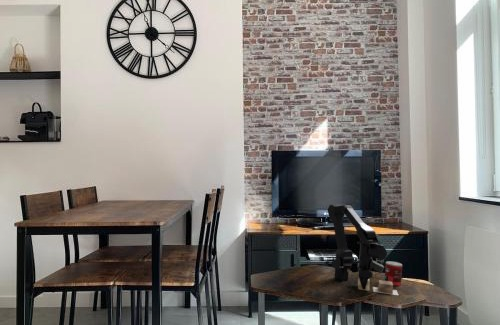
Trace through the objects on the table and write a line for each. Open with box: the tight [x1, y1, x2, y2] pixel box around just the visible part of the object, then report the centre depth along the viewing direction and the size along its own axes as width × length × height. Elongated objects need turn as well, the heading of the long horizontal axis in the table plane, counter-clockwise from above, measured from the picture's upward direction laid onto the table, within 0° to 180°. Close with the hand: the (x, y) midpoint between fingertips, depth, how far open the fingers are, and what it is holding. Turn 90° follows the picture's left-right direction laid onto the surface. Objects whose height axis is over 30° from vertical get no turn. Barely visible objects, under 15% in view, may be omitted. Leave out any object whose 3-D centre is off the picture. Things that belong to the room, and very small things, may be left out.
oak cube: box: [357, 278, 371, 292], centre depth 182 cm, size 5×5×5 cm
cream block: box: [377, 280, 394, 295], centre depth 180 cm, size 6×6×4 cm
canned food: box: [384, 260, 403, 287], centre depth 195 cm, size 8×8×11 cm
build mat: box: [372, 286, 399, 296], centre depth 180 cm, size 11×8×1 cm
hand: (363, 287), depth 182 cm, fingers closed on oak cube, 5 cm apart
